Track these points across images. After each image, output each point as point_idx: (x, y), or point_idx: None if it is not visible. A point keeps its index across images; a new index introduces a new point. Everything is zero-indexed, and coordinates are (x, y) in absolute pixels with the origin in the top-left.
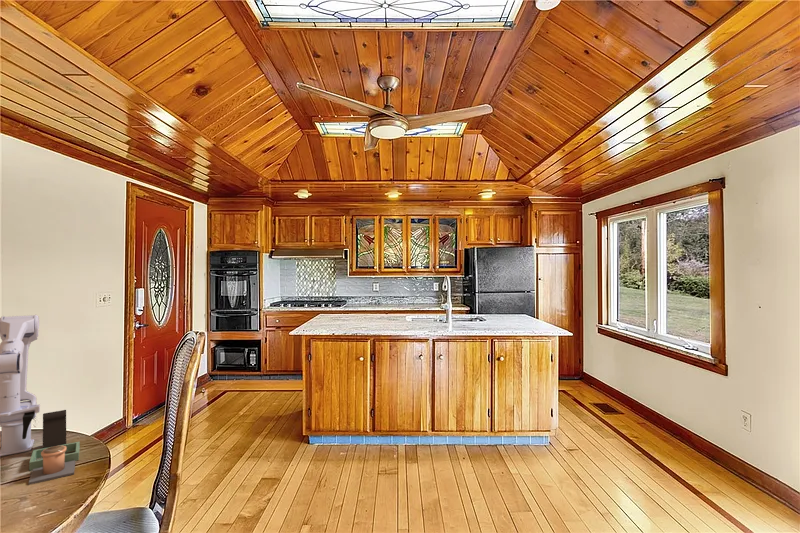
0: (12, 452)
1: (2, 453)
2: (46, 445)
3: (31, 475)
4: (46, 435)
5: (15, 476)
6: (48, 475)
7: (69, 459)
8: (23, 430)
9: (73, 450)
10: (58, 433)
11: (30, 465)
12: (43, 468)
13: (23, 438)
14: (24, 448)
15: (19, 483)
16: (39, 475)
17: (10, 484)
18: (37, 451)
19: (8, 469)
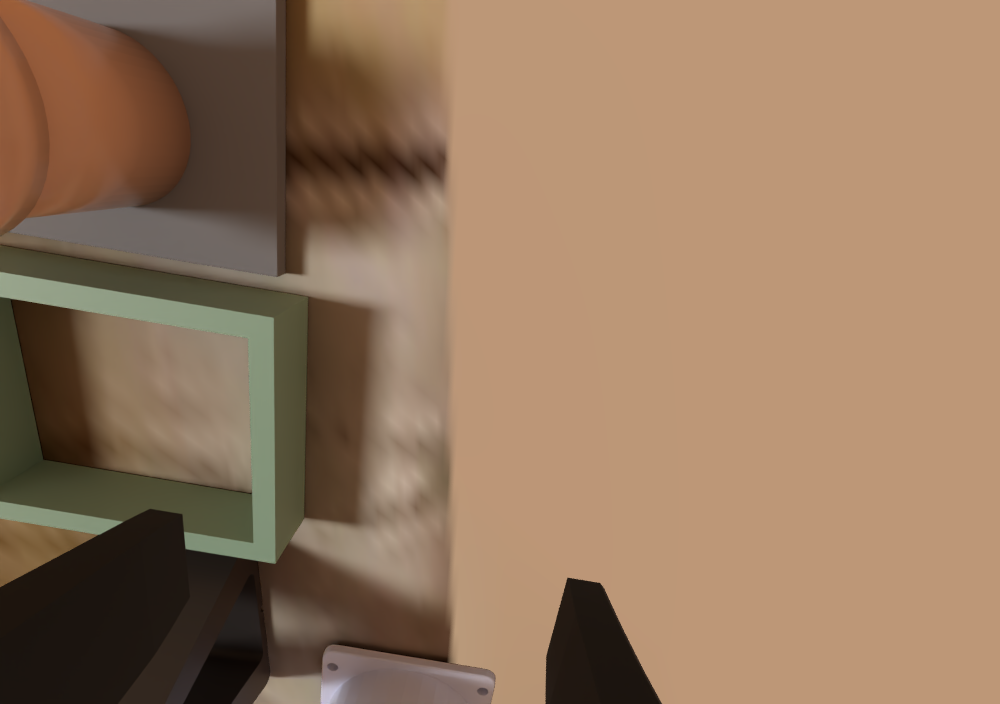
0: (419, 669)
1: (470, 690)
2: (196, 590)
3: (270, 128)
4: (145, 684)
5: (393, 259)
6: (129, 2)
7: (13, 255)
8: (9, 621)
9: (58, 466)
10: None
11: (280, 309)
12: (142, 84)
13: (159, 515)
14: (356, 679)
15: (358, 64)
16: (206, 71)
17: (421, 101)
18: (250, 534)
19: (439, 435)
